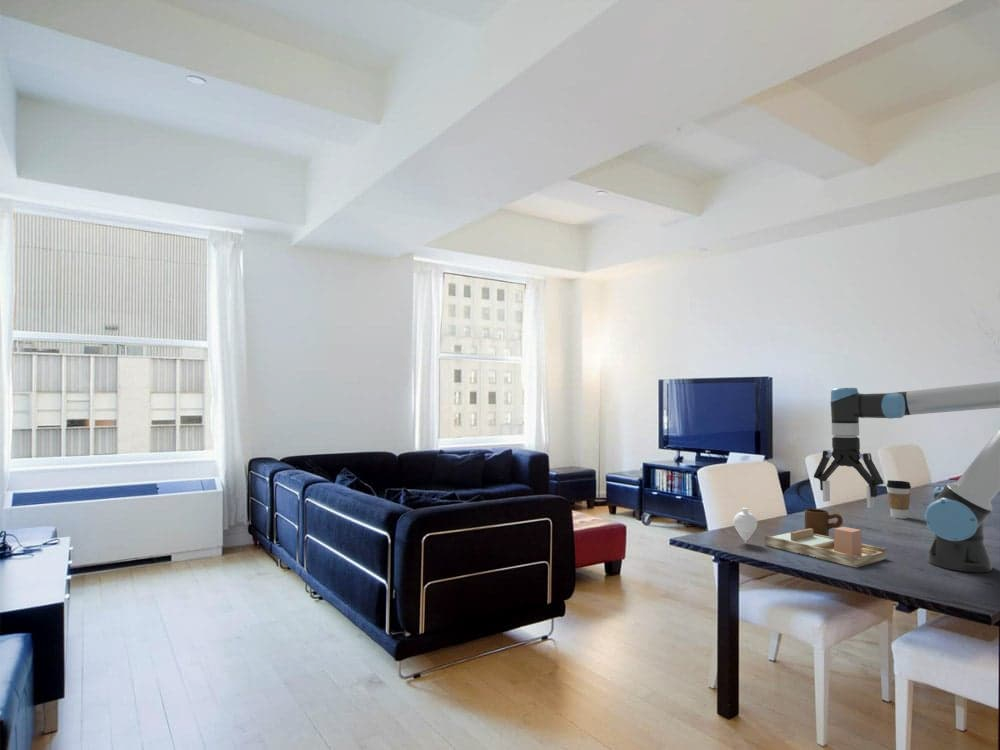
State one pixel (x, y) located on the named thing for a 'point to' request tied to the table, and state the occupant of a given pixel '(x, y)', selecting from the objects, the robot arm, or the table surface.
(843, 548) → the block
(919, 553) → the table surface
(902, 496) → the coffee cup
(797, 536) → the lid
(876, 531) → the table surface
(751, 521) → the spinning top
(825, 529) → the mug
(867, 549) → the beige flat rectangular tray
